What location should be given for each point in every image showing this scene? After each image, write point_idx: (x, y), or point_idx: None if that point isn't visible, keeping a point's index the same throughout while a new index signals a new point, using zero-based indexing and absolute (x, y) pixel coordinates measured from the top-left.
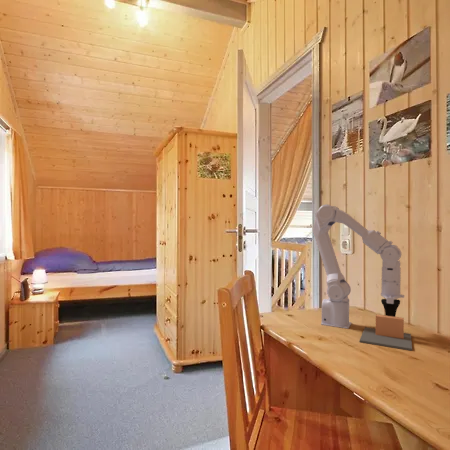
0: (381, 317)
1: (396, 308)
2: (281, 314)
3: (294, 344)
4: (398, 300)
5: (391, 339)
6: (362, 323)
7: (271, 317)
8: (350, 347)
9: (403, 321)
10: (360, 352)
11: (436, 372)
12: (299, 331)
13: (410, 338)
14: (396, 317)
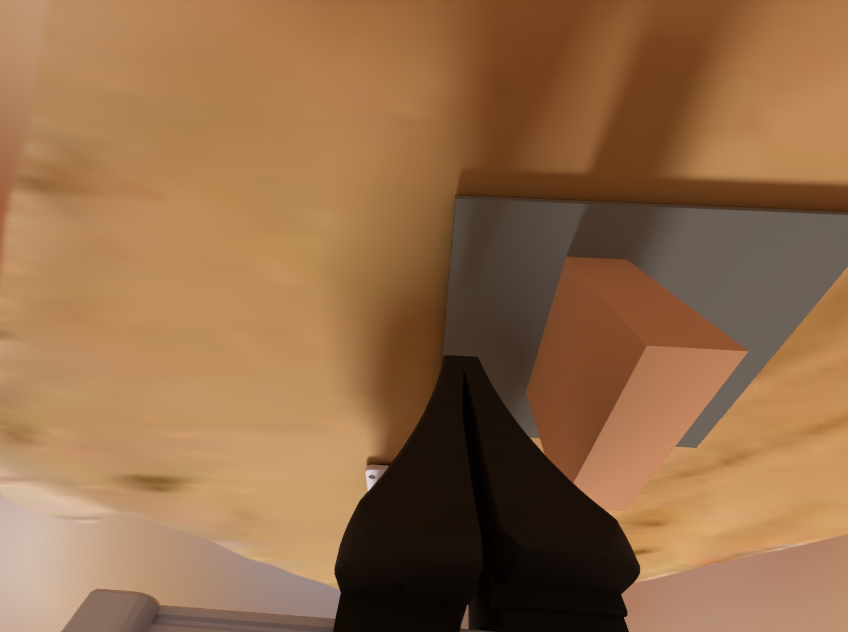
0: (638, 481)
1: (557, 472)
2: None
3: (729, 559)
4: (430, 572)
5: None
6: (321, 428)
7: None
8: (761, 459)
9: (727, 338)
10: (839, 432)
11: None
12: None
13: (602, 209)
14: (646, 403)
